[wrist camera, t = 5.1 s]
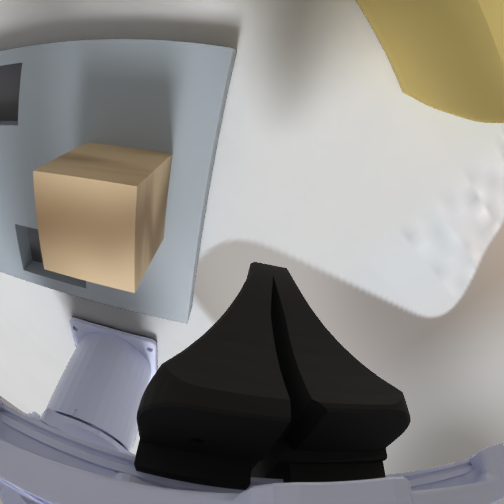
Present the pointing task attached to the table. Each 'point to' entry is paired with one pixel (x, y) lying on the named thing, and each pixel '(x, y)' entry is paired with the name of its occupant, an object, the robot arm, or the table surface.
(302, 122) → the table surface
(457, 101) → the cheese
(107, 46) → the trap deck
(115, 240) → the oak block
